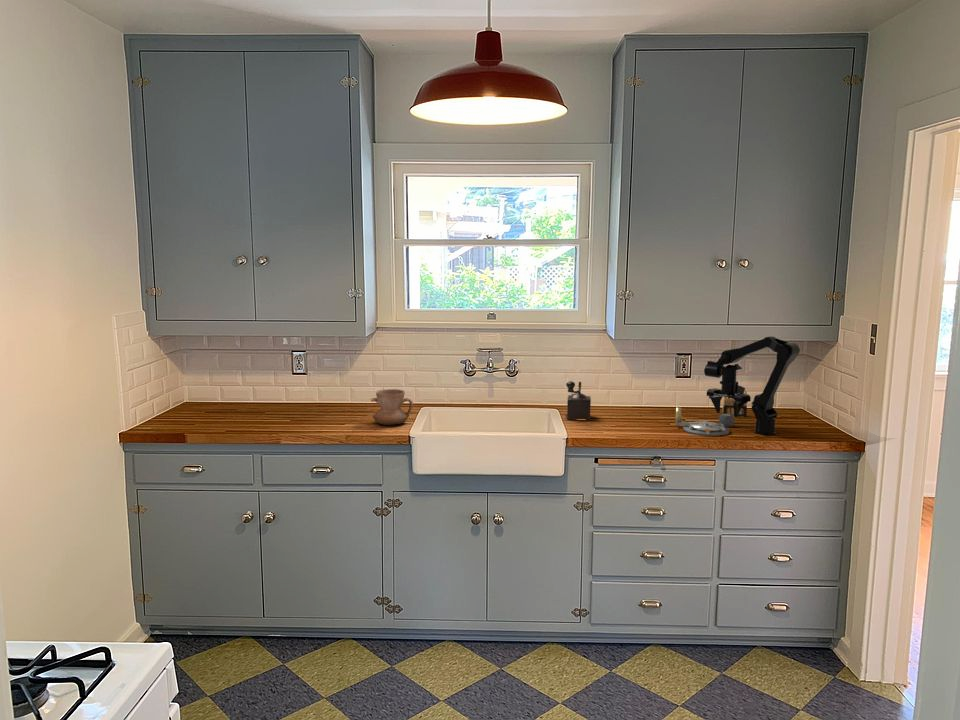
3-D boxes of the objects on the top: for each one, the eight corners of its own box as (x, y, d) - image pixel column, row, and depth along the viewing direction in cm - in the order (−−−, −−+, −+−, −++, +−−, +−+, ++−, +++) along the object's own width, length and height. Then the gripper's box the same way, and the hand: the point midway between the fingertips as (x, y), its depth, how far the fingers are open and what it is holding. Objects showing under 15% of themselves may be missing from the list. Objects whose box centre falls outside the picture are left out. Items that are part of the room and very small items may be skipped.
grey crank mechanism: (728, 426, 292) (729, 409, 291) (722, 434, 279) (723, 416, 278) (679, 420, 302) (680, 404, 301) (671, 428, 289) (671, 411, 288)
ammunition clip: (722, 416, 317) (723, 390, 315) (721, 415, 319) (723, 389, 317) (746, 417, 316) (748, 391, 314) (745, 416, 318) (747, 390, 316)
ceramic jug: (369, 427, 292) (368, 394, 290) (372, 420, 307) (372, 388, 305) (412, 427, 293) (412, 394, 291) (413, 419, 308) (413, 388, 306)
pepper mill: (565, 414, 319) (566, 376, 316) (590, 415, 317) (591, 376, 315) (564, 422, 303) (565, 382, 301) (590, 423, 302) (591, 382, 299)
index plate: (738, 432, 287) (738, 430, 286) (708, 438, 277) (708, 435, 277) (703, 424, 302) (703, 421, 302) (674, 429, 292) (674, 426, 292)
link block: (733, 426, 299) (734, 414, 298) (724, 427, 295) (725, 416, 295) (727, 424, 301) (728, 413, 300) (718, 426, 298) (719, 414, 297)
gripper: (760, 380, 292) (757, 417, 294) (723, 374, 307) (721, 409, 310) (742, 383, 286) (740, 420, 288) (706, 376, 302) (704, 411, 304)
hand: (727, 415), depth 298 cm, fingers open, 9 cm apart
